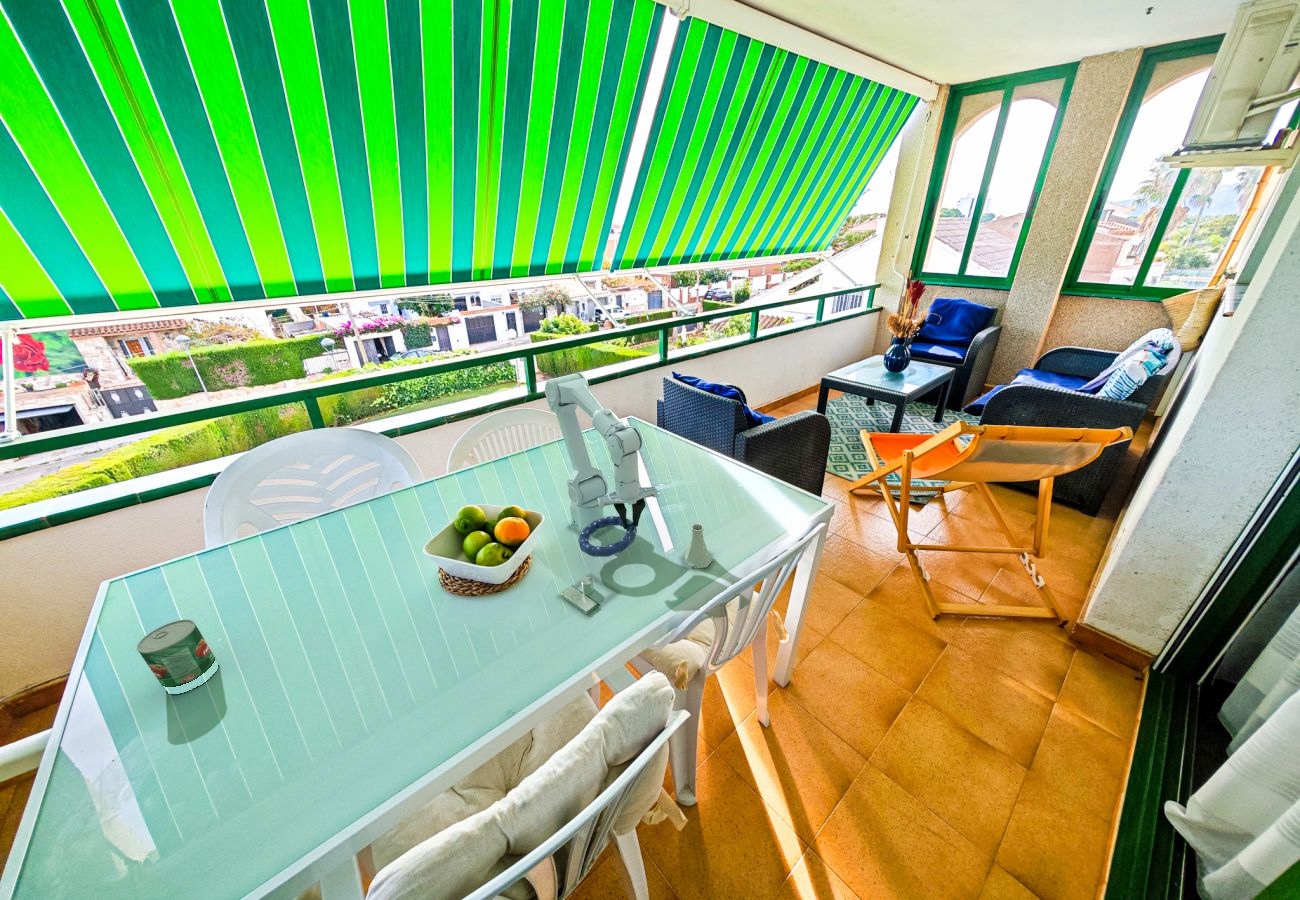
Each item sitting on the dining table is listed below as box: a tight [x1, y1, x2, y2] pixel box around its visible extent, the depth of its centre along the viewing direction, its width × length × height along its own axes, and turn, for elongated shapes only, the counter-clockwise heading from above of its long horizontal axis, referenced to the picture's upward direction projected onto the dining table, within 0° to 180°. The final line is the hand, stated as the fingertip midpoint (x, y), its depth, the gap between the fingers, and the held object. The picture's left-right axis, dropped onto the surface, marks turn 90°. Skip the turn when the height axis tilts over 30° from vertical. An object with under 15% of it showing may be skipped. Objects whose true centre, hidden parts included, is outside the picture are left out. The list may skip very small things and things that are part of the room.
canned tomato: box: [136, 619, 216, 692], centre depth 87 cm, size 8×8×11 cm
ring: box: [577, 515, 638, 558], centre depth 113 cm, size 14×14×2 cm
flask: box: [684, 523, 713, 569], centre depth 114 cm, size 7×7×10 cm
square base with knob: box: [560, 576, 601, 616], centre depth 105 cm, size 9×9×4 cm
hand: (630, 525), depth 114 cm, fingers closed on ring, 2 cm apart
